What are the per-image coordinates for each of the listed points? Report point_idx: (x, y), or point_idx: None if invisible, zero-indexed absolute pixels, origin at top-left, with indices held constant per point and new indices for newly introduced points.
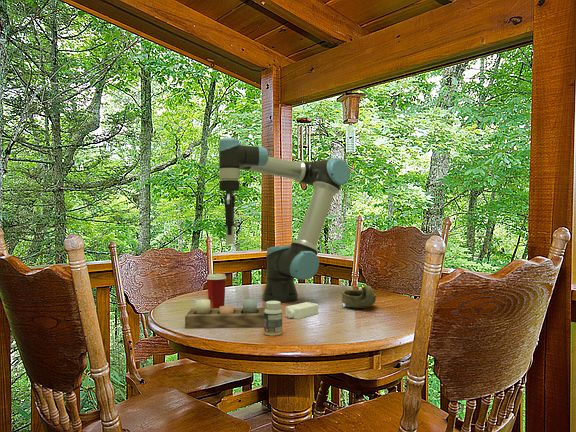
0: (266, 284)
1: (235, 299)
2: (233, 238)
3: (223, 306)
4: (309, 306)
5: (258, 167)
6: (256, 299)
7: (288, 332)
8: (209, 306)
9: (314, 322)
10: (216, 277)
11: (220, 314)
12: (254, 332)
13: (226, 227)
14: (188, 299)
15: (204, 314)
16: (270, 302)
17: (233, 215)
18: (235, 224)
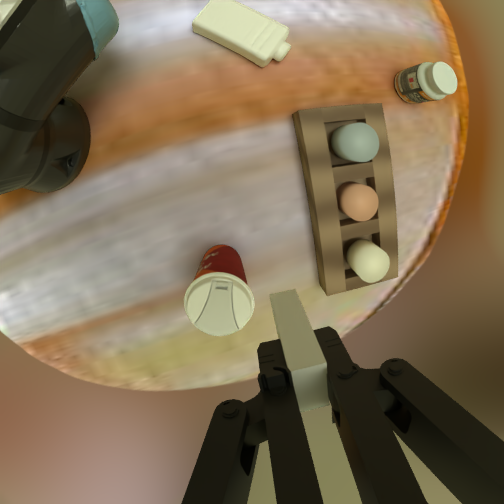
0: (41, 182)
1: (79, 261)
2: (298, 306)
3: (357, 213)
4: (248, 7)
5: None
6: (355, 124)
7: (395, 59)
8: (371, 244)
9: (307, 7)
10: (249, 298)
11: (384, 207)
12: (405, 123)
13: (326, 396)
14: (118, 362)
15: (384, 244)
16: (448, 83)
17: (230, 473)
18: (260, 377)
